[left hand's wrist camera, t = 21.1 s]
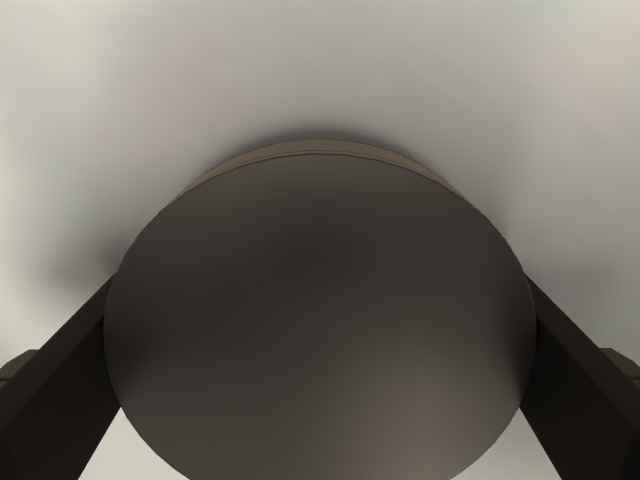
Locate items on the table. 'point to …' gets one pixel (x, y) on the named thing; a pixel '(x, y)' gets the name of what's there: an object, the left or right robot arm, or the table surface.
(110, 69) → the table surface
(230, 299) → the lid
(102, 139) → the table surface
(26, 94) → the table surface
